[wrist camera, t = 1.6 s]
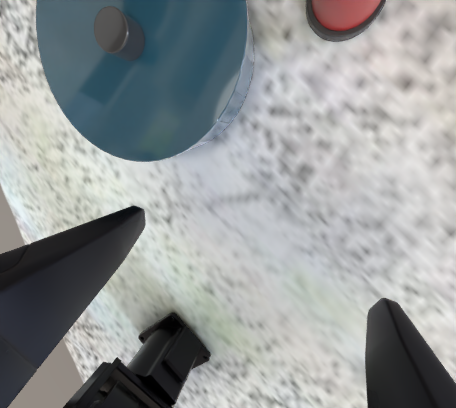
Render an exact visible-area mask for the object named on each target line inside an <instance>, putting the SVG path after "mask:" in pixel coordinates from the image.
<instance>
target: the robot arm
mask: <svg viewBox="0 0 456 408" xmlns="http://www.w3.org/2000/svg"><path fill="white" fill-rule="evenodd" d="M144 228H145V212H144V209H142V208H140V207H137V206H131V207H128V208H125V209H123V210H120V211H117V212H115V213H112V214H109V215H106V216H104V217H101V218H98V219H96V220H93V221H90V222H87V223H85V224H82V225H79V226H77V227H74V228H71V229H68V230H66V231H63V232H60V233H58V234H55V235H52V236H49V237H47V238H44V239H41V240H39V241H36V242H33V243H31V244H30V245H29V244H28V245H25V246H22V247H20V248H17V249H14V250H11V251H9V252H5V253H2V254H0V408H7V407H8V406H9V405H10V404H11V402H12V401H13V400H14V398H15V397H16V396H17V395H18V393H19V392H20V391H21V390H22V388H23V387H24V386H25V385H26V383H27V382H28V381H29V380H30V378H31V377H32V376H33V375H34V373H35V372H36V370H37V369H38V368H39V366H41V364H42V363H43V362H44V360H45V359H46V358H47V357H48V355H49V354H50V353H51V352H52V350H53V349H54V348H55V347H56V345H57V344H58V343H59V341H60V340H61V339H62V338H63V337H64V335H65V334H66V333H67V332H68V330H69V329H70V328H71V327H72V325H73V324H74V323H75V322H76V320H77V319H78V318H79V317H80V315H81V314H82V313H83V311H84V310H85V309H86V308H87V306H88V305H89V304H90V303H91V301H92V300H93V299H94V298H95V296H96V295H97V294H98V293H99V291H100V290H101V289H102V288H103V286H104V285H105V284H106V283H107V281H108V280H109V279H110V278H111V276H112V275H113V274H114V273H115V271H116V270H117V269H118V267H119V266H120V265H121V264H122V262H123V261H124V260H125V258H126V257H127V255H128V253H129V252H130V250H131V249H132V247H133V246H134V244H135V242H136V241H137V239H138V238H139V236H140V235H141V233H142V231H143V230H144ZM172 317H173V318H172ZM139 340H140V341H141V342H142V343H143V346H142V347H141V348H140V350H139V351H138V352H137V354H136V355H135V356H134V358H133V359H132V360H131V362H130V363H129V364H128V366H127V367H126V366H125V365H124V364H123V363H121V360H120V359H119V358H118V357H117V358H116V359H115V360H114V362H113V363H112V364H111V363H106V362H103V363H102V364H101V365H100V366H99V367H98V369H97V370H96V371H95V372H94V373H93V374H92V376H91V377H90V378H89V379H88V380H87V381H86V382H85V383H84V385H83V386H82V387H81V388H80V389H79V390H78V391H77V392H76V393H75V394H74V396H73V397H72V398H71V399H70V400H69V401H68V402H67V403H66V405H65V406H64V407H63V408H174V405H175V403H176V401H177V399H178V397H179V395H180V392H181V390H182V388H183V386H184V384H185V381H186V380H187V377H188V375H189V373H190V371H191V369H193V368H195V367H197V366H199V365H201V364H203V363H205V362H207V361H209V359H210V357H211V354H210V352H209V351H208V350H207V349H206V348H205V347H204V346H203V344H202V343H201V342H200V341H199V340H198V339H197V337H196V336H195V335H194V334H193V333H192V332H191V330H190V329H189V328H188V327H187V326H186V325H185V324H184V322H183V321H182V320H181V319H180V318H179V317H178V315H177V314H175V313H170V314H169V315H167V316H166V317H164V318H163V319H161V320H160V321H158V322H157V323H155V324H154V325H152V326H151V327H149V328H148V329H146V330H145V331H143V332H142V333H141V334H140V335H139ZM365 368H366V385H367V403H368V408H456V383H455V382H454V380H453V379H452V378H451V376H450V375H449V373H448V372H447V371H446V369H445V368H444V366H443V365H442V364H441V362H440V361H439V359H438V358H437V357H436V355H435V354H434V353H433V351H432V350H431V348H430V347H429V346H428V344H427V343H426V341H425V340H424V339H423V337H422V336H421V334H420V333H419V332H418V330H417V329H416V328H415V326H414V325H413V323H412V322H411V321H410V319H409V318H408V316H407V315H406V314H405V312H404V311H403V309H402V308H401V307H400V305H399V304H398V303H397V302H395V301H392V300H390V299H387V298H382V299H380V300H379V301H378V302H377V303H376V304H375V305H374V306H372V307H371V308H370V310H369V312H368V316H367V333H366V351H365Z"/></svg>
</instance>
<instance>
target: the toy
mask: <svg viewBox="0 0 456 408" xmlns="http://www.w3.org/2000/svg"><path fill="white" fill-rule="evenodd" d="M385 2H386V0H306V14H307V19H308V22H309V24H310V26H311V28H312V30H313V31H314V32H315V33H316V34H317V35H318V36H320V37H321V38H323V39H326V40H329V41H344V40H348V39H350V38H353V37H355V36H357V35H359V34H360V33H362V32H363V31H364V30H365V29H367V28H368V27H369V26H370V25H371V24H372V22H373V21H374V20H375V19H376V17H377V16H378V14H379V13H380V11H381V9H382V8H383V6H384V4H385Z"/></svg>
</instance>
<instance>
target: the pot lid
mask: <svg viewBox="0 0 456 408" xmlns="http://www.w3.org/2000/svg"><path fill="white" fill-rule="evenodd" d="M36 31H37V40H38V47H39V53H40V58H41V62H42V66H43V69H44V72H45V76H46V78H47V81H48V84H49V86H50V89H51V91H52V93H53V95H54V97H55V99H56V101H57V103H58V105H59V106H60V108H61V110H62V111H63V113H64V114H65V116H66V117H67V118H68V120H69V121H70V122H71V124H72V125H73V126H74V127H75V128H76V129H77V130H78V131H79V132H80V133H81V135H82V136H84V137H85V138H86V139H87V140H88V141H90V142H91V143H92V144H93V145H95V146H97V147H98V148H100V149H101V150H103V151H105V152H107V153H109V154H111V155H113V156H116V157H119V158H122V159H125V160H131V161H137V162H151V161H158V160H164V159H168V158H171V157H175V156H177V155H179V154H181V153H184V152H186V151H188V150H189V149H191V148H192V147H194V146H195V145H197V144H198V143H199V142H201V141H202V140H203V139H204V138H205V137H206V136H207V135H208V134H210V132H211V131H212V130H213V129H214V128H215V127H216V125H217V124H218V123H219V122H220V120H221V119H222V117H223V116H224V114H225V113H226V111H227V110H228V108H229V106H230V104H231V102H232V100H233V98H234V96H235V94H236V91H237V89H238V86H239V83H240V80H241V77H242V74H243V69H244V65H245V61H246V56H247V48H248V39H249V15H248V5H247V0H37V3H36Z"/></svg>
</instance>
